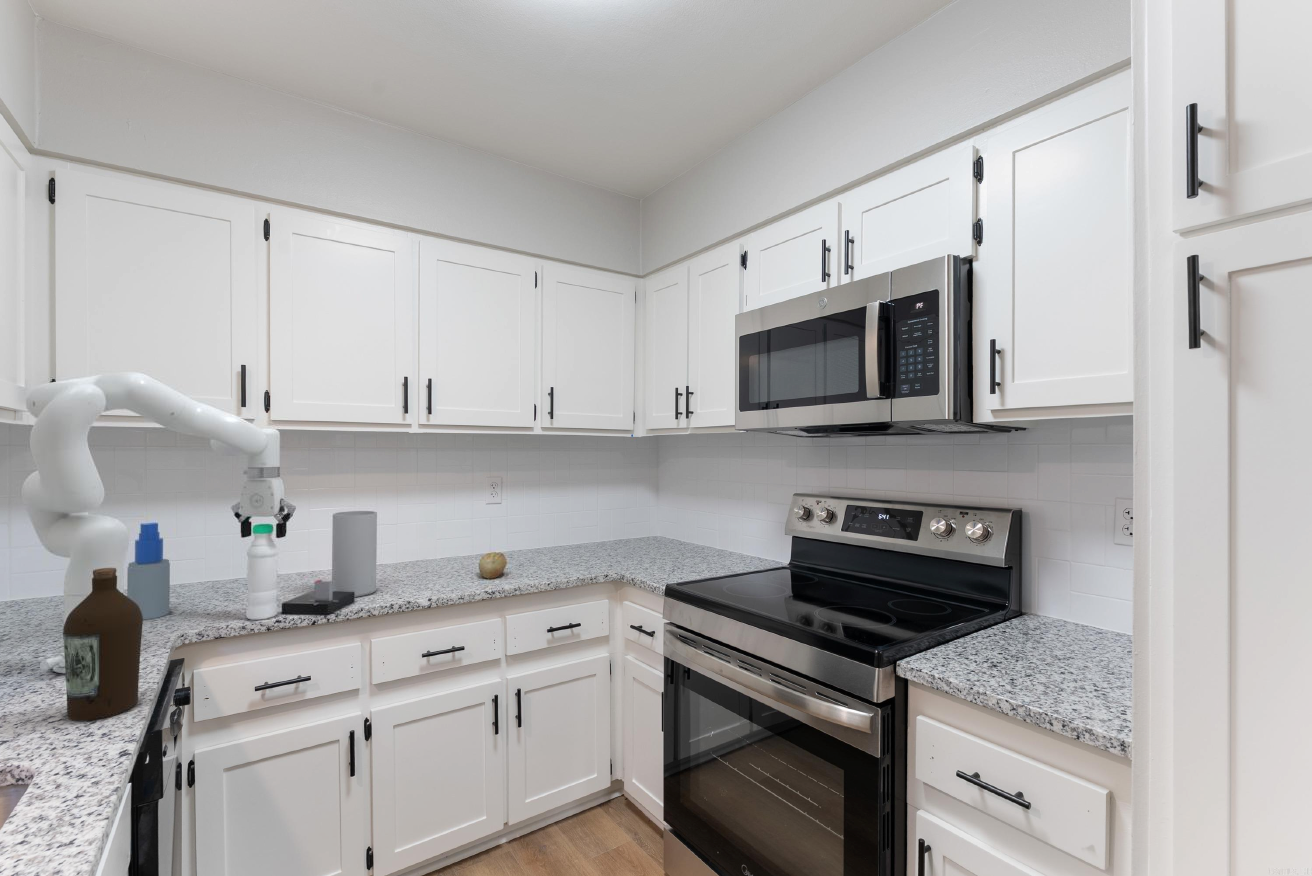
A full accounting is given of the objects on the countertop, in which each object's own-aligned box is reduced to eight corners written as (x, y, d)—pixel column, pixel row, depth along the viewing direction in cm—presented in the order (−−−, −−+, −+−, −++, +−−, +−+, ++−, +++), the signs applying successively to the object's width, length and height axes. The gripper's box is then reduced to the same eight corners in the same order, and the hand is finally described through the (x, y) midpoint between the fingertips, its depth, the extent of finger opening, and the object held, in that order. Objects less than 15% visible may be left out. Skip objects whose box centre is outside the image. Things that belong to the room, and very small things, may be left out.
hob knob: (332, 600, 175) (332, 579, 175) (329, 601, 173) (329, 581, 173) (317, 599, 175) (318, 579, 175) (314, 601, 174) (314, 580, 174)
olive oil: (108, 695, 117) (109, 562, 117) (157, 699, 116) (158, 564, 116) (45, 720, 107) (46, 574, 107) (97, 725, 105) (98, 577, 105)
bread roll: (507, 570, 231) (507, 548, 231) (505, 579, 216) (505, 556, 216) (480, 571, 229) (481, 549, 229) (476, 580, 214) (477, 556, 214)
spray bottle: (120, 621, 163) (121, 525, 163) (135, 612, 172) (136, 521, 172) (162, 618, 167) (163, 524, 167) (174, 609, 175) (175, 520, 175)
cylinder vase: (383, 588, 201) (383, 511, 201) (364, 598, 189) (365, 515, 189) (344, 587, 202) (345, 510, 202) (323, 597, 189) (324, 515, 189)
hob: (329, 616, 170) (329, 604, 170) (278, 615, 170) (278, 603, 170) (358, 601, 185) (358, 591, 185) (311, 600, 186) (312, 590, 186)
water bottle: (262, 621, 165) (263, 526, 165) (239, 619, 166) (240, 525, 166) (283, 614, 172) (284, 523, 172) (261, 612, 173) (262, 522, 173)
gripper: (222, 474, 166) (222, 538, 166) (285, 475, 165) (285, 539, 165) (242, 472, 173) (242, 534, 173) (303, 473, 172) (303, 535, 172)
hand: (263, 537), depth 169 cm, fingers open, 9 cm apart
